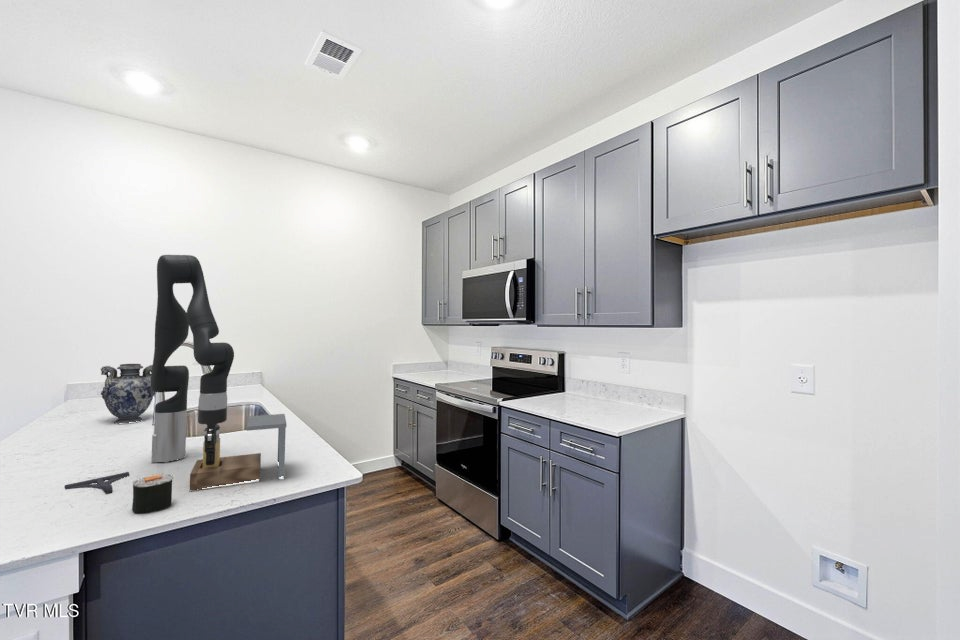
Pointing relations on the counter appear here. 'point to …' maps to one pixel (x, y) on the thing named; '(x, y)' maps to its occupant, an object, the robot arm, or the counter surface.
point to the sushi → (152, 493)
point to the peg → (217, 455)
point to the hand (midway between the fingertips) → (211, 462)
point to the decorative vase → (127, 391)
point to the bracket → (98, 483)
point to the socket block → (226, 471)
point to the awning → (271, 423)
